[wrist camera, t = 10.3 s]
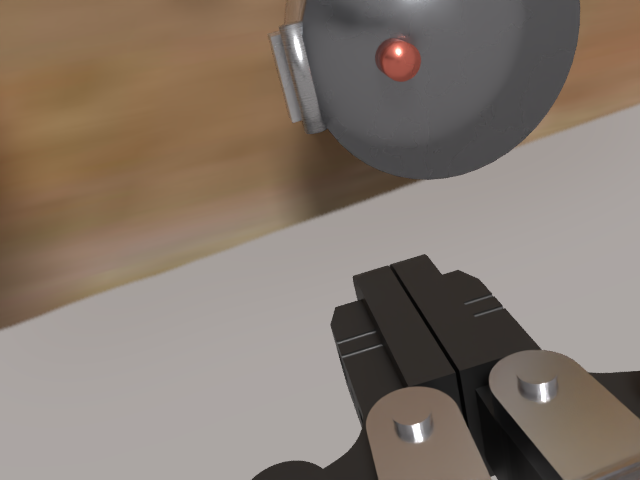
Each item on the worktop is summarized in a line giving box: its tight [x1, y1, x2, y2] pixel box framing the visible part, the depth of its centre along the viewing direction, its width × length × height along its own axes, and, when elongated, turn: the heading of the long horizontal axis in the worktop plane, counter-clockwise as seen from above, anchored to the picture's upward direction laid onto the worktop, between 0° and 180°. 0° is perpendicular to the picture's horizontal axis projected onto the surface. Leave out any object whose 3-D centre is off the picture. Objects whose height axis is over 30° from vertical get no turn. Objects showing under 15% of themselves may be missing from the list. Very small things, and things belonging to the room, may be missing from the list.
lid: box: [279, 0, 580, 180], centre depth 33 cm, size 20×17×3 cm
